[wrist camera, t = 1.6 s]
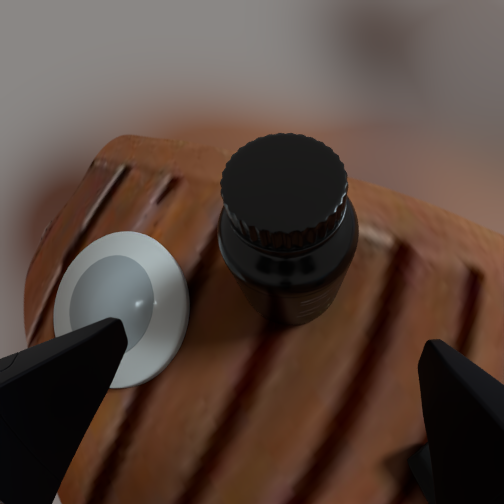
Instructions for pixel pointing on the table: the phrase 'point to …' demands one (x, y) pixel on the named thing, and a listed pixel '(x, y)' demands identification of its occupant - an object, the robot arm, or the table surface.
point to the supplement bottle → (287, 225)
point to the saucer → (128, 301)
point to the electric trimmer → (423, 472)
